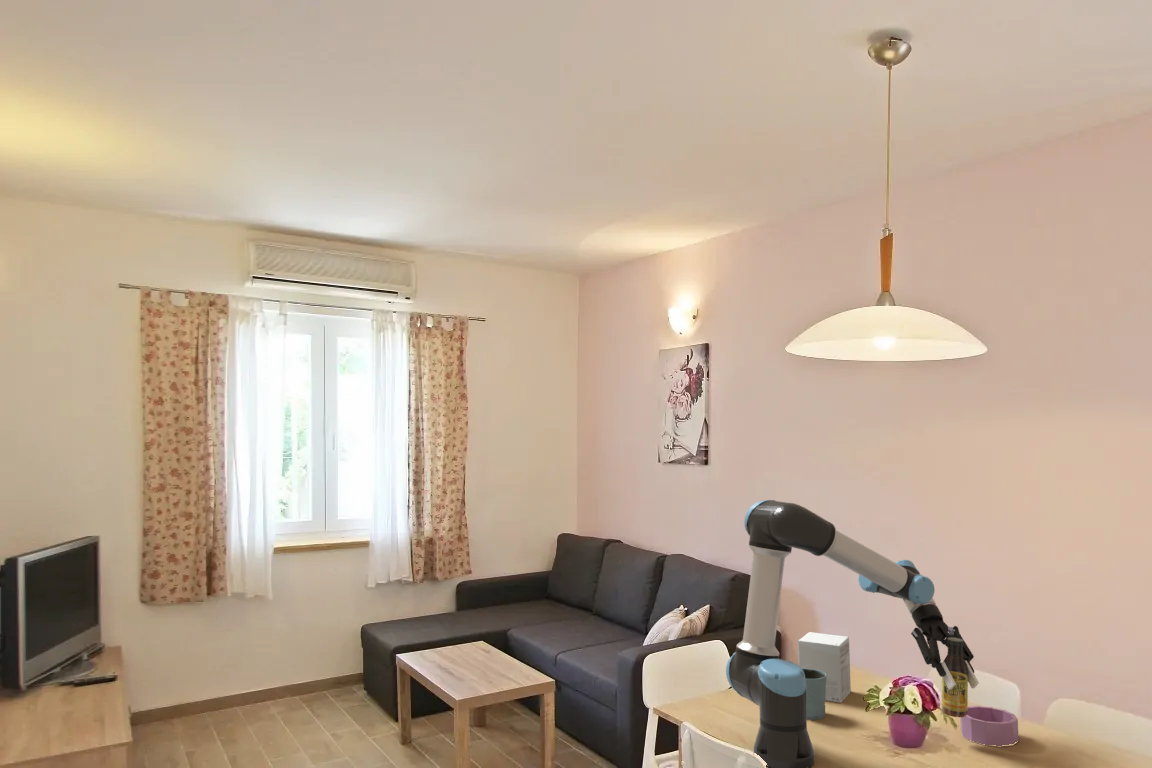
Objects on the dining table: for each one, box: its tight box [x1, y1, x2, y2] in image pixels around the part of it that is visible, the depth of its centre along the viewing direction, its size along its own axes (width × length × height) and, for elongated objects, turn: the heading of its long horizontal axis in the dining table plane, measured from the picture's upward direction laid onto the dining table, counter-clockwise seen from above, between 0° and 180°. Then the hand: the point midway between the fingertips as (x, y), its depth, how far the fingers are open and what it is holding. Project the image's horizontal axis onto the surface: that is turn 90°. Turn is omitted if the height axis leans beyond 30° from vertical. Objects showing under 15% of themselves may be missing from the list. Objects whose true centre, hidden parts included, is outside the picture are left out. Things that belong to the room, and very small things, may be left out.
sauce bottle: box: [941, 637, 969, 718], centre depth 214 cm, size 7×6×20 cm
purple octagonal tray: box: [959, 705, 1020, 746], centre depth 216 cm, size 14×14×6 cm
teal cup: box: [802, 668, 827, 721], centre depth 235 cm, size 10×10×12 cm
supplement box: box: [797, 631, 852, 704], centre depth 254 cm, size 13×13×18 cm
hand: (963, 686), depth 210 cm, fingers closed on sauce bottle, 6 cm apart
